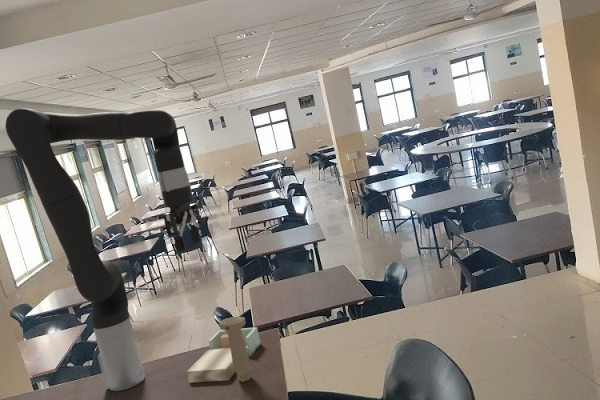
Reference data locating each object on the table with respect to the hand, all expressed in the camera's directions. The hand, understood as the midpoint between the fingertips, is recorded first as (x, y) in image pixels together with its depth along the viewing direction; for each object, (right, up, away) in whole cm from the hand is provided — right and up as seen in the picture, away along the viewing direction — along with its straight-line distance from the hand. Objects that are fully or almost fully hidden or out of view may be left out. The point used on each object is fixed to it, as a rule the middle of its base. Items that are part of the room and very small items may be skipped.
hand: (189, 246), depth 135 cm
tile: (+10, -28, +5) cm, 30 cm away
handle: (+16, -31, -12) cm, 37 cm away
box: (+12, -30, +7) cm, 33 cm away
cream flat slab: (+8, -32, -3) cm, 33 cm away
